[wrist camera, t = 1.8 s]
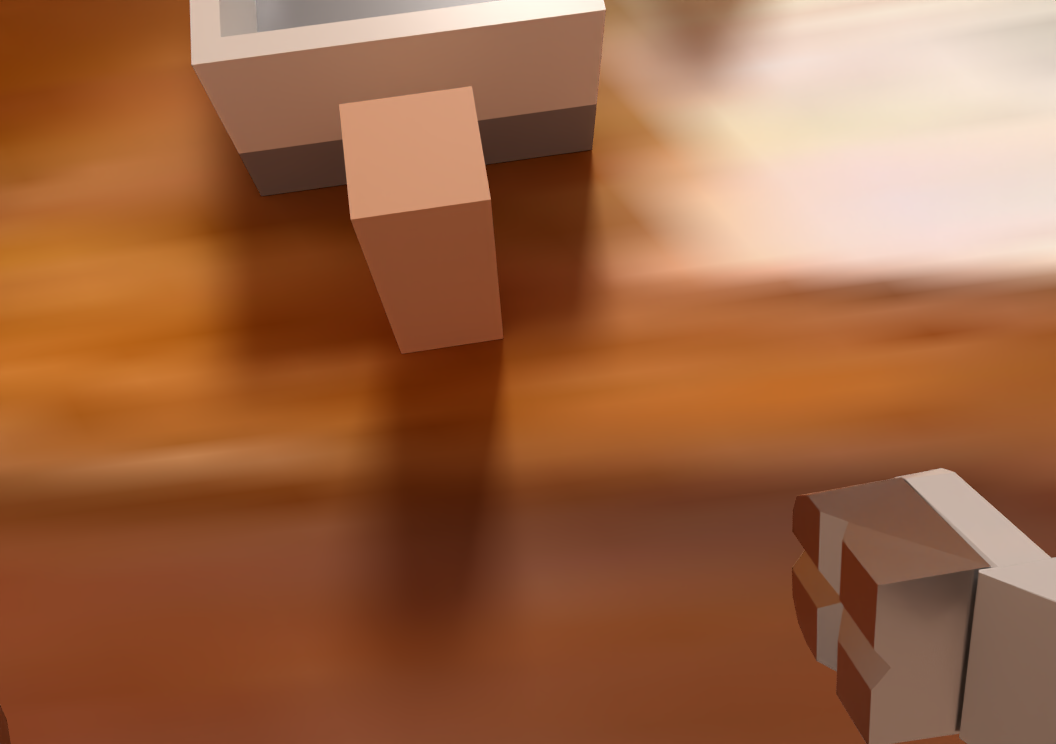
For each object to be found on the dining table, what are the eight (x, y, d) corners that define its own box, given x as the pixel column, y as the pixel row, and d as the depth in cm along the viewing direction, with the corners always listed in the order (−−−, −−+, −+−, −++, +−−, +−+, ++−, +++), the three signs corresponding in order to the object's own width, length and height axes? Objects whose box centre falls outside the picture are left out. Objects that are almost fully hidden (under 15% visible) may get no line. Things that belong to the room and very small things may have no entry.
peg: (489, 248, 36) (472, 86, 27) (503, 338, 34) (491, 199, 25) (390, 263, 36) (338, 104, 26) (401, 353, 34) (350, 219, 25)
